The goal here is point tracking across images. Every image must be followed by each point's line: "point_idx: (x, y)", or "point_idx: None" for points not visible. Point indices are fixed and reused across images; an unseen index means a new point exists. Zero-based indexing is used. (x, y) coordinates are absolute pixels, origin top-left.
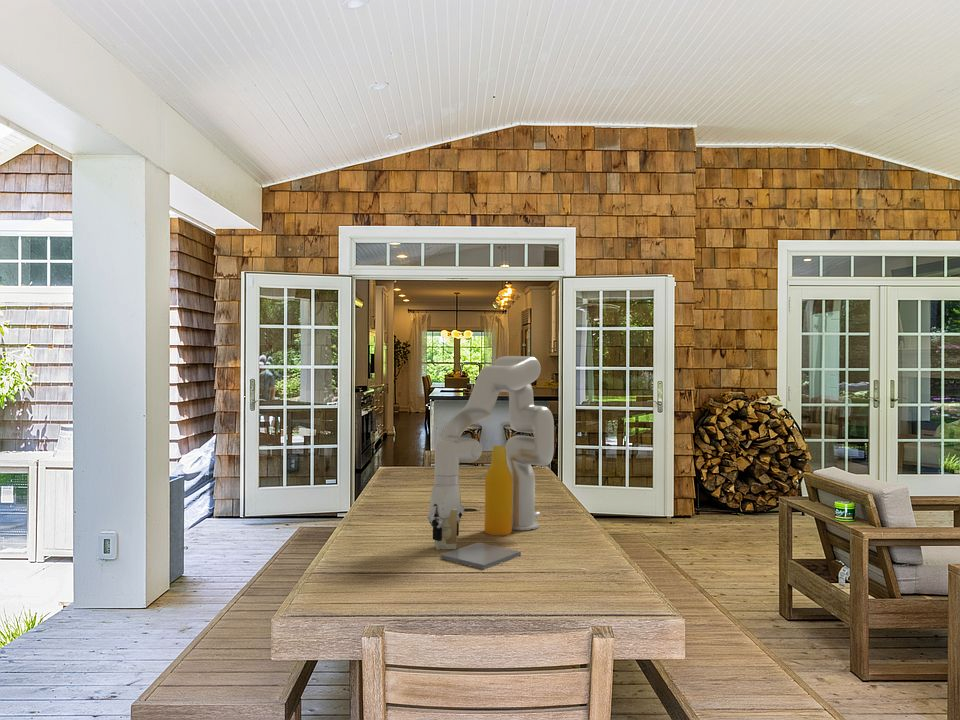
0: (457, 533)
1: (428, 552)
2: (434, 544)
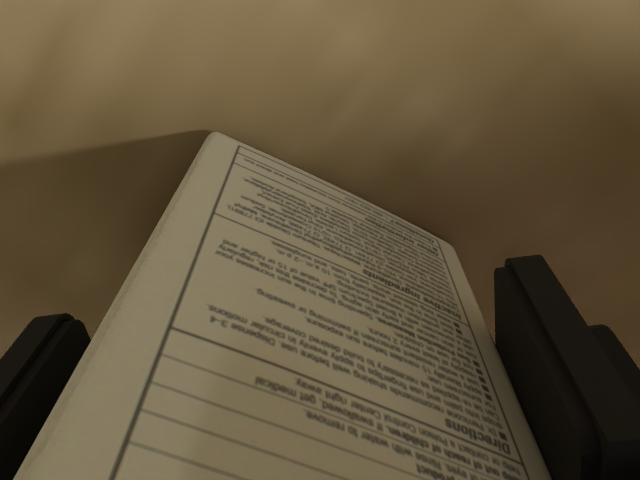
0: None
1: (7, 275)
2: (203, 144)
